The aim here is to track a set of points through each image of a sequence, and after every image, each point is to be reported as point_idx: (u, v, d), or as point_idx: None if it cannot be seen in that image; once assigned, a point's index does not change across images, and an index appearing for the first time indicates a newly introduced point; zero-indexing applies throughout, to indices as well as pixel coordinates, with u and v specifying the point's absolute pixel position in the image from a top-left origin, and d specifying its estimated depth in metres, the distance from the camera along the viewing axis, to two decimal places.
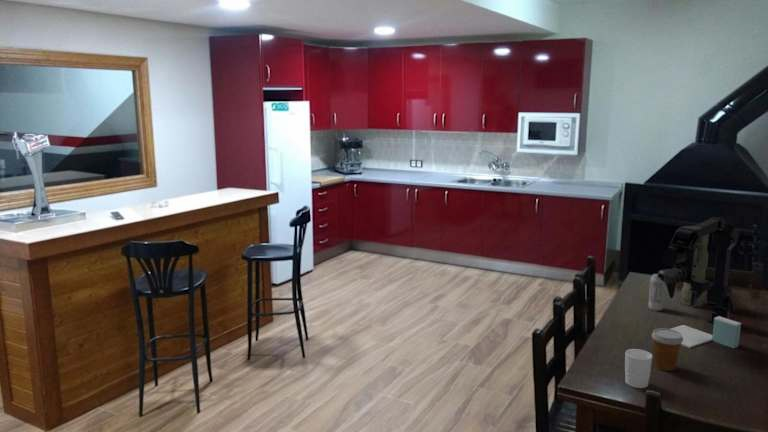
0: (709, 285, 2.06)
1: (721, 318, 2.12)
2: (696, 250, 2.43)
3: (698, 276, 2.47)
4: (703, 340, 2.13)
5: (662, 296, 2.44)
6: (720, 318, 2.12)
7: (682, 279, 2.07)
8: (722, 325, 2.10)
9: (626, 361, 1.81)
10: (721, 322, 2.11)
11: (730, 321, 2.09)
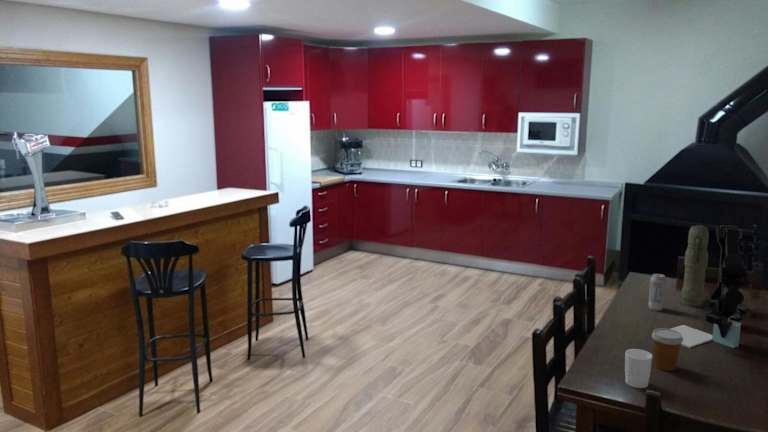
0: (717, 320, 2.04)
1: None
2: (696, 250, 2.43)
3: (698, 276, 2.47)
4: (703, 340, 2.13)
5: (662, 296, 2.44)
6: None
7: (705, 306, 2.13)
8: None
9: (626, 361, 1.81)
10: None
11: (730, 321, 2.09)
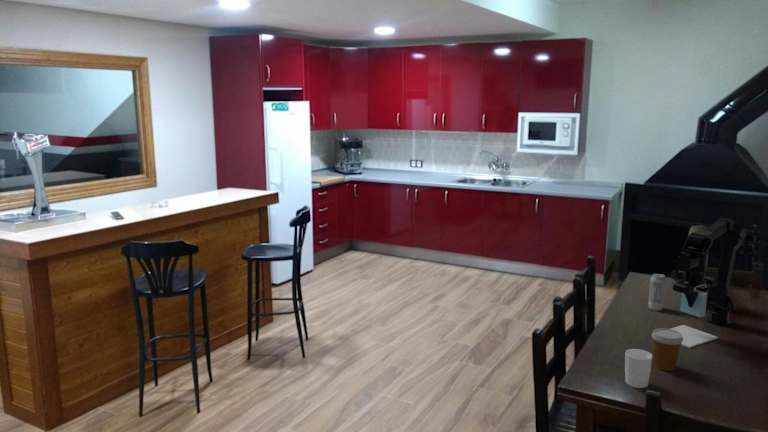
0: (683, 289, 2.10)
1: None
2: None
3: None
4: (703, 340, 2.13)
5: (662, 296, 2.44)
6: None
7: (673, 277, 2.18)
8: None
9: (626, 361, 1.81)
10: None
11: (697, 291, 2.15)
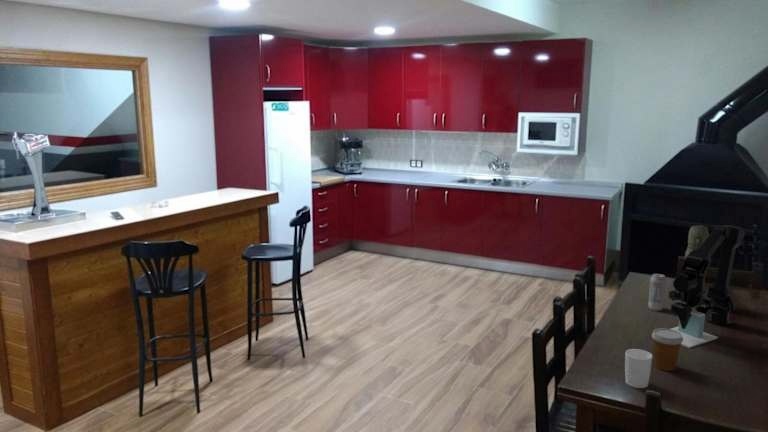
0: (681, 310, 2.11)
1: None
2: None
3: None
4: (703, 340, 2.13)
5: (662, 296, 2.44)
6: None
7: (671, 297, 2.20)
8: None
9: (626, 361, 1.81)
10: None
11: (695, 312, 2.17)
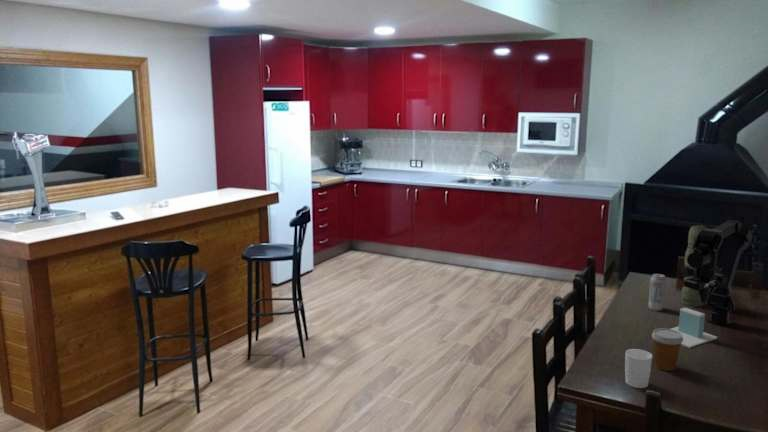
0: (694, 285, 2.13)
1: (687, 309, 2.20)
2: None
3: None
4: (703, 340, 2.13)
5: (662, 296, 2.44)
6: (686, 309, 2.20)
7: (684, 273, 2.21)
8: (688, 316, 2.18)
9: (626, 361, 1.81)
10: (687, 313, 2.18)
11: (695, 312, 2.17)
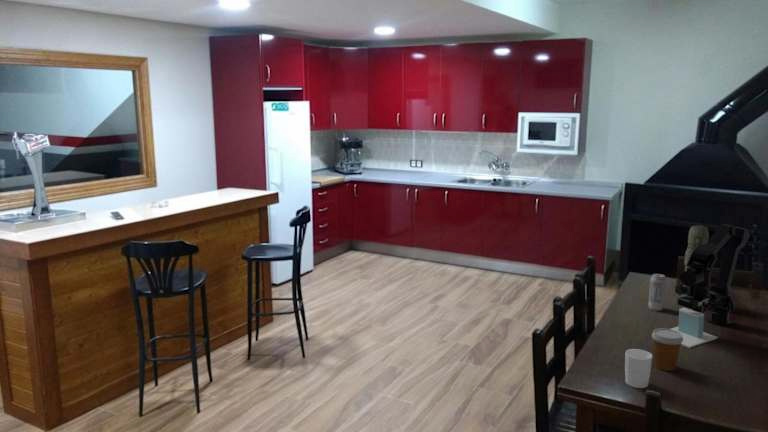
0: (688, 304, 2.13)
1: (685, 309, 2.19)
2: None
3: None
4: (703, 340, 2.13)
5: (662, 296, 2.44)
6: (685, 309, 2.19)
7: (678, 291, 2.21)
8: (687, 316, 2.18)
9: (626, 361, 1.81)
10: (686, 313, 2.18)
11: (694, 312, 2.16)
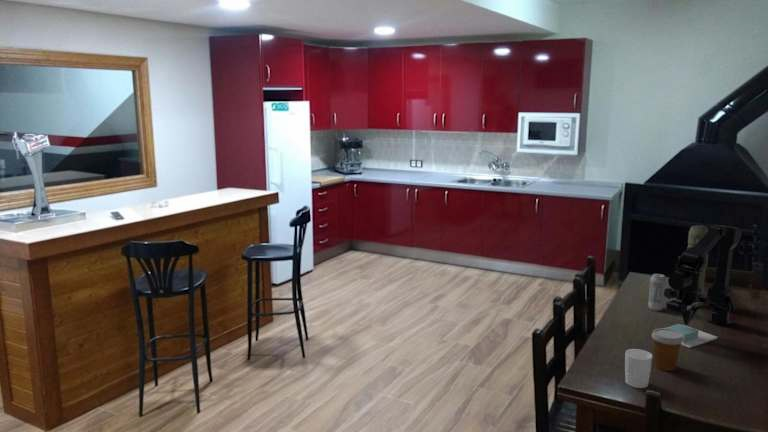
0: (676, 308, 2.10)
1: None
2: None
3: None
4: (703, 340, 2.13)
5: (662, 296, 2.44)
6: None
7: (667, 295, 2.18)
8: None
9: (626, 361, 1.81)
10: None
11: None
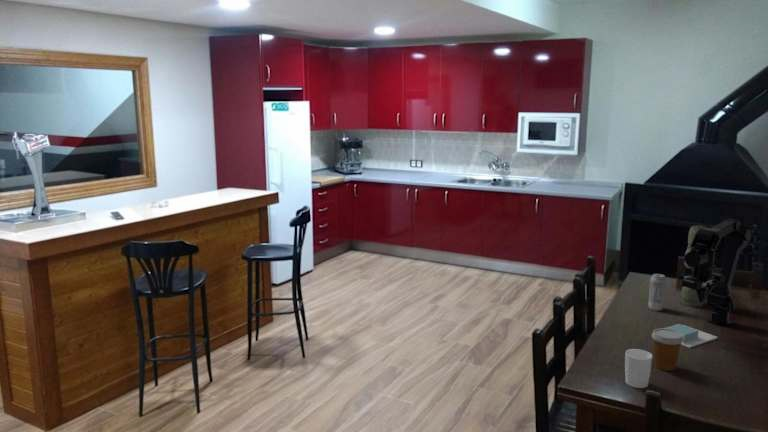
0: (692, 284, 2.12)
1: None
2: None
3: None
4: (703, 340, 2.13)
5: (662, 296, 2.44)
6: None
7: (682, 272, 2.21)
8: None
9: (626, 361, 1.81)
10: None
11: None
